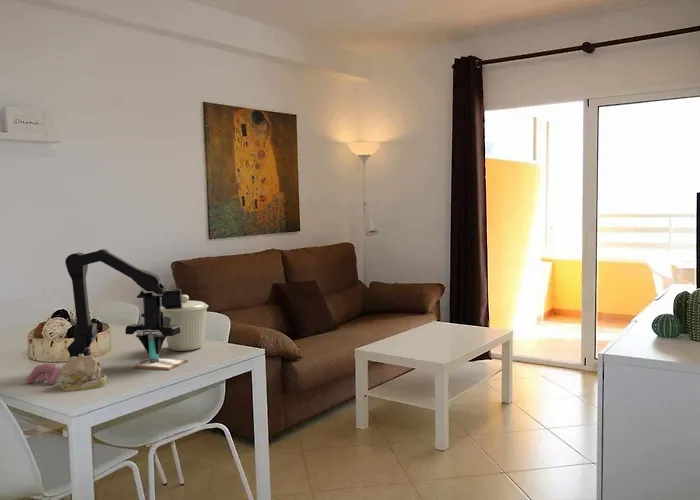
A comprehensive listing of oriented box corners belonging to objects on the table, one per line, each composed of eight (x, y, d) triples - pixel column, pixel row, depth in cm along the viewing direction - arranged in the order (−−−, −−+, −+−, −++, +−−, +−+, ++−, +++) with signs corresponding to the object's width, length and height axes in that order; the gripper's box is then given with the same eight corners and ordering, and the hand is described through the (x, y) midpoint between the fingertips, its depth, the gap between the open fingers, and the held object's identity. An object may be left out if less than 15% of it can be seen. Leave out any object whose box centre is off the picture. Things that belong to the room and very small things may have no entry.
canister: (198, 341, 251) (196, 290, 249) (217, 348, 236) (215, 294, 235) (154, 347, 240) (152, 294, 238) (172, 356, 225) (170, 299, 224)
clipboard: (168, 370, 205) (168, 366, 205) (132, 368, 209) (132, 364, 209) (187, 361, 217) (187, 357, 217) (153, 359, 220) (153, 355, 220)
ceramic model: (53, 392, 183) (51, 359, 182) (64, 382, 194) (62, 350, 193) (102, 389, 185) (101, 356, 184) (110, 379, 196) (109, 348, 195)
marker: (155, 362, 212) (154, 335, 211) (147, 362, 213) (145, 334, 212) (161, 360, 215) (160, 333, 215) (152, 359, 216) (151, 332, 216)
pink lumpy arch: (60, 387, 193) (66, 365, 195) (50, 384, 189) (57, 362, 191) (34, 385, 195) (40, 364, 198) (24, 382, 191) (30, 360, 194)
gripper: (188, 307, 218) (189, 350, 219) (142, 305, 223) (144, 347, 224) (170, 312, 207) (172, 357, 208) (123, 310, 212) (125, 354, 213)
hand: (153, 354), depth 214 cm, fingers closed on marker, 3 cm apart
